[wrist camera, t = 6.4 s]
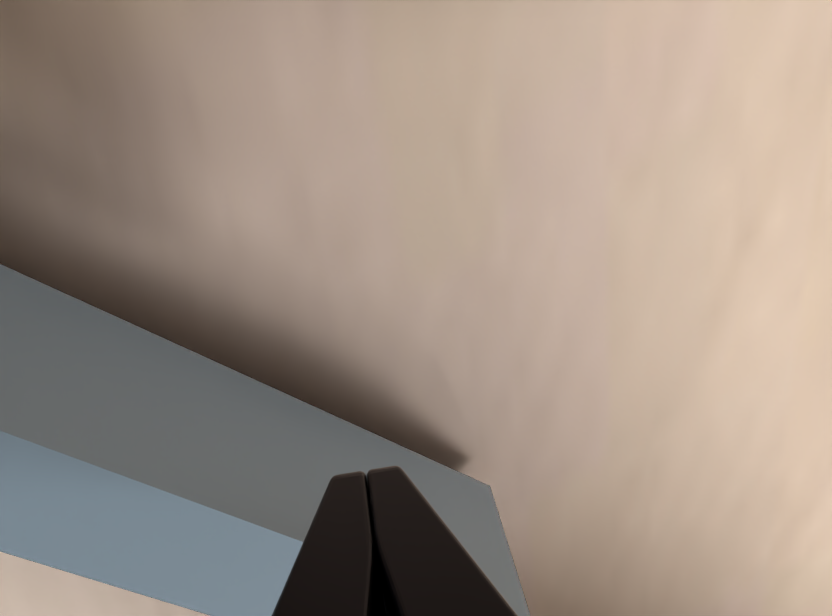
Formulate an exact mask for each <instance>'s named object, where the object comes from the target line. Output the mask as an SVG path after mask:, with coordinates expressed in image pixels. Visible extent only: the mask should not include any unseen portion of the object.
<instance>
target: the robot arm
mask: <svg viewBox="0 0 832 616" xmlns="http://www.w3.org/2000/svg"><path fill="white" fill-rule="evenodd" d="M272 616H518V615H517V614H516V613H515V611H514V610H513V609H512V608H511V606H510V605H509V604H508V603H507V601H506V600H505V599H504V597H503V596H502V595H501V594H500V592H499V591H498V590H497V589H496V587H495V586H494V585H493V583H492V582H491V581H490V580H489V578H488V577H487V576H486V575H485V573H484V572H483V571H482V569H481V568H480V567H479V566H478V564H477V563H476V562H475V561H474V559H473V558H472V557H471V555H470V554H469V553H468V552H467V550H466V549H465V548H464V547H463V545H462V544H461V543H460V542H459V540H458V539H457V538H456V536H455V535H454V534H453V533H452V531H451V530H450V529H449V528H448V526H447V525H446V524H445V522H444V521H443V520H442V519H441V517H440V516H439V515H438V514H437V512H436V511H435V510H434V508H433V507H432V506H431V505H430V503H429V502H428V501H427V500H426V498H425V497H424V496H423V494H422V493H421V492H420V491H419V489H418V488H417V487H416V486H415V484H414V483H413V482H412V481H411V479H410V478H409V477H408V475H407V474H406V473H405V472H404V470H403V469H402V468H401V467H399V466H389V467H382V468H376V469H371V470H369V471H368V473H367V477H366V474H365V473H364V472H362V471H357V472H351V473H345V474H339V475H335V476H333V477H332V478H331V480H330V481H329V483H328V486H327V488H326V490H325V493H324V495H323V497H322V500H321V502H320V504H319V507H318V509H317V511H316V514H315V516H314V518H313V521H312V523H311V525H310V528H309V530H308V532H307V535H306V537H305V539H304V542H303V544H302V546H301V548H300V551H299V553H298V555H297V558H296V560H295V562H294V565H293V567H292V569H291V572H290V574H289V576H288V579H287V581H286V583H285V586H284V588H283V590H282V593H281V595H280V597H279V600H278V602H277V604H276V607H275V609H274V611H273V613H272Z"/></svg>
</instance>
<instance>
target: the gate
mask: <svg viewBox="0 0 832 616" xmlns="http://www.w3.org/2000/svg"><path fill="white" fill-rule="evenodd" d="M389 466H399V467H401V468H402V469H403V470H404V472H405V473H406V474H407V475H408V477H409V478H410V479H411V481H412V482H413V483H414V484H415V486H416V487H417V488H418V489H419V491H420V492H421V493H422V494H423V496H424V497H425V498H426V500H427V501H428V502H429V503H430V505H431V506H432V507H433V508H434V510H435V511H436V512H437V514H438V515H439V516H440V517H441V519H442V520H443V521H444V522H445V524H446V525H447V526H448V528H449V529H450V530H451V531H452V533H453V534H454V535H455V536H456V538H457V539H458V540H459V542H460V543H461V544H462V545H463V547H464V548H465V549H466V550H467V552H468V553H469V554H470V555H471V557H472V558H473V559H474V561H475V562H476V563H477V564H478V566H479V567H480V568H481V569H482V571H483V572H484V573H485V575H486V576H487V577H488V578H489V580H490V581H491V582H492V583H493V585H494V586H495V587H496V589H497V590H498V591H499V592H500V594H501V595H502V596H503V597H504V599H505V600H506V601H507V603H508V604H509V605H510V606H511V608H512V609H513V610H514V611H515V613H516V614H517V615H518V616H530V613H529V610H528V606H527V603H526V600H525V597H524V594H523V590H522V587H521V584H520V581H519V578H518V574H517V571H516V568H515V565H514V562H513V558H512V555H511V552H510V549H509V546H508V542H507V539H506V536H505V533H504V530H503V526H502V523H501V520H500V517H499V514H498V510H497V507H496V504H495V501H494V498H493V494H492V491H491V488H490V486H489V485H486V484H484V483H482V482H480V481H477V480H475V479H473V478H471V477H469V476H466V475H464V474H462V473H460V472H458V471H455V470H453V469H451V468H449V467H447V466H444V465H442V464H440V463H438V462H436V461H433V460H431V459H429V458H427V457H425V456H422V455H420V454H418V453H416V452H414V451H411V450H409V449H407V448H405V447H403V446H400V445H398V444H396V443H394V442H392V441H389V440H387V439H385V438H383V437H381V436H378V435H376V434H374V433H372V432H370V431H367V430H365V429H363V428H361V427H358V426H356V425H354V424H352V423H350V422H347V421H345V420H343V419H341V418H339V417H336V416H334V415H332V414H330V413H328V412H325V411H323V410H321V409H319V408H317V407H314V406H312V405H310V404H308V403H306V402H303V401H301V400H299V399H297V398H295V397H292V396H290V395H288V394H286V393H284V392H281V391H279V390H277V389H275V388H273V387H270V386H268V385H266V384H264V383H262V382H259V381H257V380H255V379H253V378H250V377H248V376H246V375H244V374H242V373H239V372H237V371H235V370H233V369H231V368H228V367H226V366H224V365H222V364H220V363H217V362H215V361H213V360H211V359H209V358H206V357H204V356H202V355H200V354H198V353H195V352H193V351H191V350H189V349H187V348H184V347H182V346H180V345H178V344H176V343H173V342H171V341H169V340H167V339H165V338H162V337H160V336H158V335H156V334H154V333H151V332H149V331H147V330H145V329H143V328H140V327H138V326H136V325H134V324H131V323H129V322H127V321H125V320H123V319H120V318H118V317H116V316H114V315H112V314H109V313H107V312H105V311H103V310H101V309H98V308H96V307H94V306H92V305H90V304H87V303H85V302H83V301H81V300H79V299H76V298H74V297H72V296H70V295H68V294H65V293H63V292H61V291H59V290H57V289H54V288H52V287H50V286H48V285H46V284H43V283H41V282H39V281H37V280H35V279H32V278H30V277H28V276H26V275H23V274H21V273H19V272H17V271H15V270H12V269H10V268H8V267H6V266H4V265H1V264H0V551H1V552H4V553H7V554H10V555H14V556H17V557H20V558H24V559H27V560H30V561H33V562H37V563H40V564H43V565H46V566H50V567H53V568H56V569H60V570H63V571H66V572H69V573H73V574H76V575H79V576H83V577H86V578H89V579H92V580H96V581H99V582H102V583H105V584H109V585H112V586H115V587H119V588H122V589H125V590H128V591H132V592H135V593H138V594H142V595H145V596H148V597H151V598H155V599H158V600H161V601H164V602H168V603H171V604H174V605H178V606H181V607H184V608H187V609H191V610H194V611H197V612H200V613H204V614H207V615H210V616H272V613H273V611H274V609H275V607H276V604H277V602H278V600H279V597H280V595H281V593H282V590H283V588H284V586H285V583H286V581H287V579H288V576H289V574H290V572H291V569H292V567H293V565H294V562H295V560H296V558H297V555H298V553H299V551H300V548H301V546H302V544H303V542H304V539H305V537H306V535H307V532H308V530H309V528H310V525H311V523H312V521H313V518H314V516H315V514H316V511H317V509H318V507H319V504H320V502H321V500H322V497H323V495H324V493H325V490H326V488H327V486H328V483H329V481H330V480H331V478H332V477H333V476H335V475H339V474H345V473H351V472H357V471H362V472H364V473H365V474H366V477H367V473H368V471H369V470H371V469H376V468H382V467H389Z"/></svg>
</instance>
